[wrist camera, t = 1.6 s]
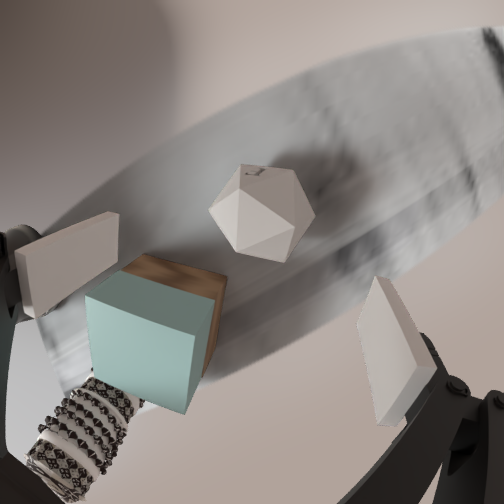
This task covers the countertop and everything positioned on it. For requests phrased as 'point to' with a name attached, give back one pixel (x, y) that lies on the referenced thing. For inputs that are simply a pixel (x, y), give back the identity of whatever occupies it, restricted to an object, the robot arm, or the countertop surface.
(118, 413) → the decorative candle
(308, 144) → the countertop surface
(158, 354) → the tower top
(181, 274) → the tower base
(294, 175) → the die
